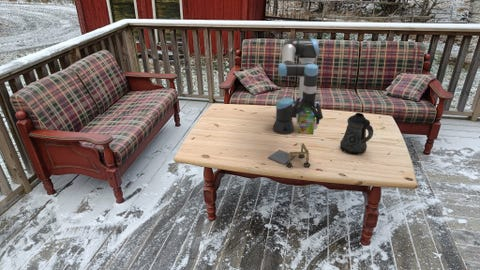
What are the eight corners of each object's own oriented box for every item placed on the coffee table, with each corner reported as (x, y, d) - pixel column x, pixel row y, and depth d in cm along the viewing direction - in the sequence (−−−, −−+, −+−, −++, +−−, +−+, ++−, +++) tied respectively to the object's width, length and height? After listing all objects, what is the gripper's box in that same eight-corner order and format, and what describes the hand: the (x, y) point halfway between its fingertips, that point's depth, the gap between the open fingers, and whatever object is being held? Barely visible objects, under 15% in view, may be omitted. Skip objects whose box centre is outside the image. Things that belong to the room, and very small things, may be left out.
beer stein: (343, 140, 229) (348, 106, 218) (373, 147, 220) (380, 112, 209) (336, 151, 217) (341, 116, 205) (367, 159, 208) (374, 122, 196)
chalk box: (297, 133, 201) (299, 111, 194) (298, 126, 209) (300, 104, 202) (313, 135, 199) (315, 112, 192) (313, 128, 207) (316, 105, 200)
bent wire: (284, 166, 202) (285, 152, 197) (300, 154, 214) (301, 140, 209) (301, 173, 195) (302, 159, 190) (317, 160, 207) (318, 146, 202)
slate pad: (268, 158, 210) (268, 157, 210) (279, 150, 218) (279, 149, 218) (284, 165, 203) (284, 163, 203) (294, 157, 211) (294, 155, 211)
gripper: (288, 89, 196) (286, 122, 206) (325, 98, 183) (321, 133, 193) (294, 85, 201) (292, 118, 211) (331, 94, 188) (327, 129, 198)
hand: (306, 126), depth 202 cm, fingers closed on chalk box, 11 cm apart
